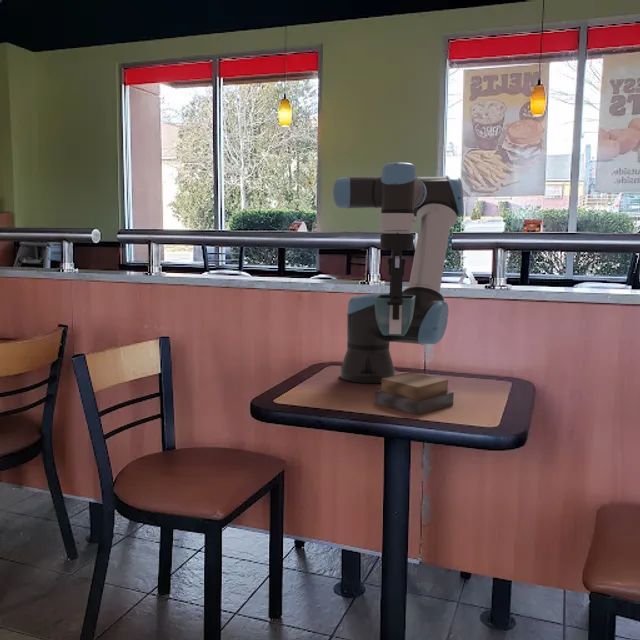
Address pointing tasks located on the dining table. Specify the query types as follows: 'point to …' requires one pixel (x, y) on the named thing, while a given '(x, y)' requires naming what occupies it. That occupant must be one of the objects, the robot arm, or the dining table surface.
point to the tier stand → (414, 393)
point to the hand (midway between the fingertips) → (394, 330)
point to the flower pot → (384, 313)
